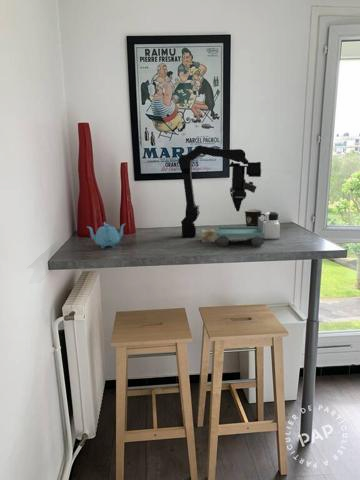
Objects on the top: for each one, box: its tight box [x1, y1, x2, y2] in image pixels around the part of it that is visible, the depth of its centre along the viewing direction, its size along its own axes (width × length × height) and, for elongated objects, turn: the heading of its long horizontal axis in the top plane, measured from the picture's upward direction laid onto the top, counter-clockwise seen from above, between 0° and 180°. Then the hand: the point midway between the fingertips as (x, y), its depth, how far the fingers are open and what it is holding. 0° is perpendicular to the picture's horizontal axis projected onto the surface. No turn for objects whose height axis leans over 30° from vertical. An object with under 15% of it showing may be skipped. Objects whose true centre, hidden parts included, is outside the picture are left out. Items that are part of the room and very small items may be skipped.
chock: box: [201, 228, 216, 243], centre depth 169 cm, size 6×5×5 cm
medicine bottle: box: [263, 211, 281, 240], centre depth 172 cm, size 7×7×12 cm
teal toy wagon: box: [216, 216, 264, 248], centre depth 163 cm, size 20×14×11 cm
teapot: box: [87, 221, 126, 249], centre depth 163 cm, size 13×13×10 cm
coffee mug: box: [244, 208, 265, 227], centre depth 189 cm, size 12×9×10 cm
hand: (237, 209), depth 171 cm, fingers open, 9 cm apart
